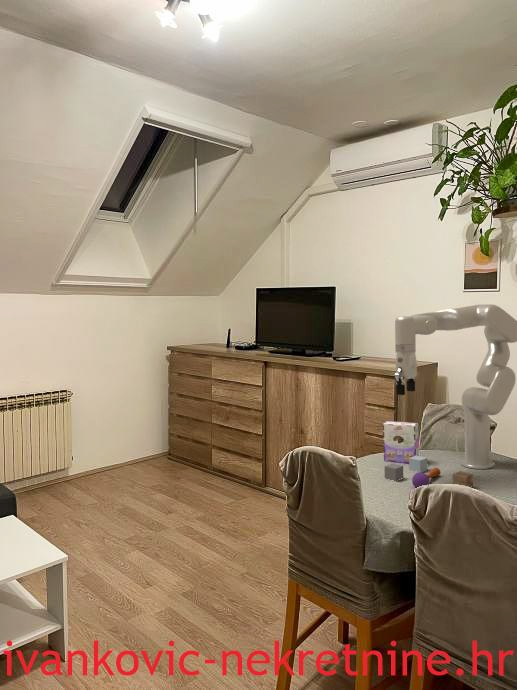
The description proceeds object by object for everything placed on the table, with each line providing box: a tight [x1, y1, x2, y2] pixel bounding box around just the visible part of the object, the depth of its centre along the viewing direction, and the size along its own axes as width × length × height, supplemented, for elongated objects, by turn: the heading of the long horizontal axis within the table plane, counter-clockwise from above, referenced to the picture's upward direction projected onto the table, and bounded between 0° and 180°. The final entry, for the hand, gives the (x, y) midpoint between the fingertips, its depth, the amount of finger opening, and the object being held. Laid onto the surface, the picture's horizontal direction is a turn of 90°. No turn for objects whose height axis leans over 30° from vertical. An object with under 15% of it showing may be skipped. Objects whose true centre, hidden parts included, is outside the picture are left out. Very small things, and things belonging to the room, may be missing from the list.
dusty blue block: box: [408, 455, 428, 473], centre depth 222 cm, size 5×5×5 cm
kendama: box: [411, 467, 442, 488], centre depth 207 cm, size 6×6×20 cm
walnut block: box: [452, 470, 474, 487], centre depth 200 cm, size 5×5×5 cm
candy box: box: [382, 420, 420, 464], centre depth 234 cm, size 14×6×16 cm, turn 59°
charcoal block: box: [384, 462, 404, 482], centre depth 213 cm, size 5×5×5 cm
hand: (405, 392), depth 214 cm, fingers open, 9 cm apart
